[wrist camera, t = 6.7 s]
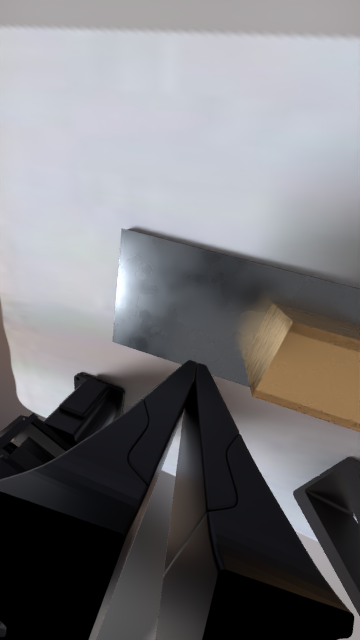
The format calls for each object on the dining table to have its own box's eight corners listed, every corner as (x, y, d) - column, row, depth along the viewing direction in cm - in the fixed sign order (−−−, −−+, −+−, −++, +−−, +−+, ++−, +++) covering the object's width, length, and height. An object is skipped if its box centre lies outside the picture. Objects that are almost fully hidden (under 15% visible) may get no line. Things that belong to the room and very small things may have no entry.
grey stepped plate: (369, 420, 15) (415, 472, 12) (117, 338, 18) (91, 359, 14) (475, 318, 11) (597, 350, 8) (126, 229, 14) (93, 221, 10)
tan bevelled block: (326, 387, 14) (363, 433, 11) (244, 361, 15) (252, 396, 11) (372, 329, 12) (438, 362, 8) (271, 302, 13) (293, 322, 9)
